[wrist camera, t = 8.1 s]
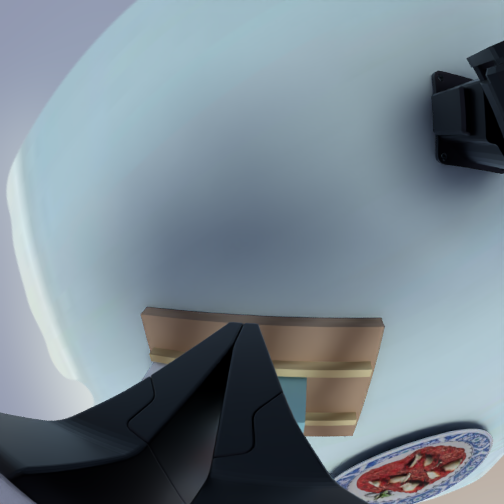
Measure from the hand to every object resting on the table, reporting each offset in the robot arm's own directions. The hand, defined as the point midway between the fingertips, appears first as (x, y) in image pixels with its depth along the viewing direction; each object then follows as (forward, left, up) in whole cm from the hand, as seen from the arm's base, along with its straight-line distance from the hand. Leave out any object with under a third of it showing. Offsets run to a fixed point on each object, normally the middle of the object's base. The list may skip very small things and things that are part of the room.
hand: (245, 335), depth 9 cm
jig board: (+1, +14, -12) cm, 18 cm away
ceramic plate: (-20, +35, -12) cm, 42 cm away
